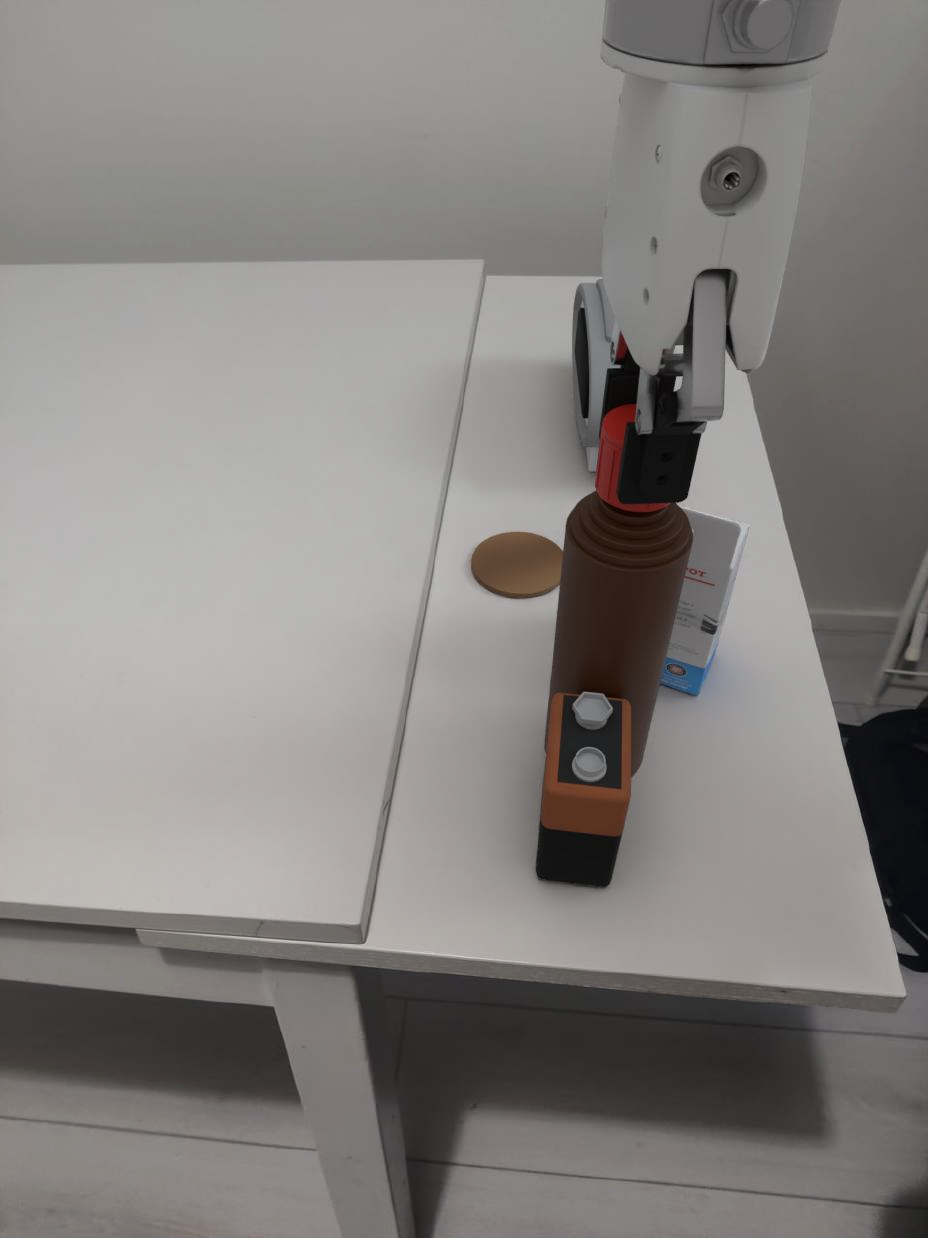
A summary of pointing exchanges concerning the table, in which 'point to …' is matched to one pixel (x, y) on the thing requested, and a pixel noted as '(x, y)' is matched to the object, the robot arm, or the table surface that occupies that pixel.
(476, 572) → the coaster
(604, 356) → the alarm clock
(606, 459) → the cap
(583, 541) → the bottle
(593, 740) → the battery
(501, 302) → the table surface
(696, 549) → the ink box
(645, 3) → the robot arm
